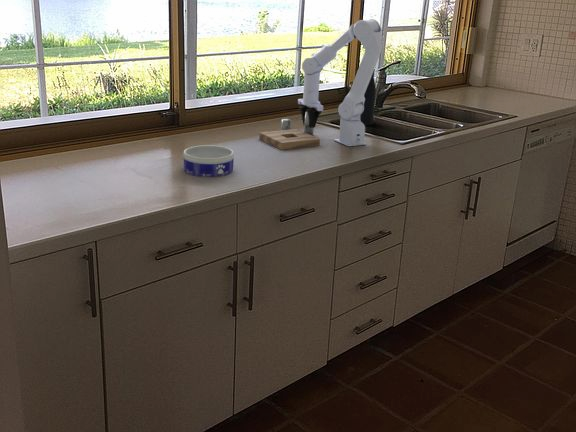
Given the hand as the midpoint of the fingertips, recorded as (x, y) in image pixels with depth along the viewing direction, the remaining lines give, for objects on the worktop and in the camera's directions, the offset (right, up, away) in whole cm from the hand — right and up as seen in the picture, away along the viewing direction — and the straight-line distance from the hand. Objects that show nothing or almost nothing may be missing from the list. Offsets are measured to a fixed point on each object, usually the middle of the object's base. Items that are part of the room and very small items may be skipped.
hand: (309, 126), depth 244 cm
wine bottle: (+24, +5, +25) cm, 35 cm away
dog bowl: (-33, -20, -47) cm, 60 cm away
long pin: (0, -3, +1) cm, 3 cm away
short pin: (-9, -2, +4) cm, 10 cm away
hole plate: (-8, -7, -11) cm, 15 cm away
